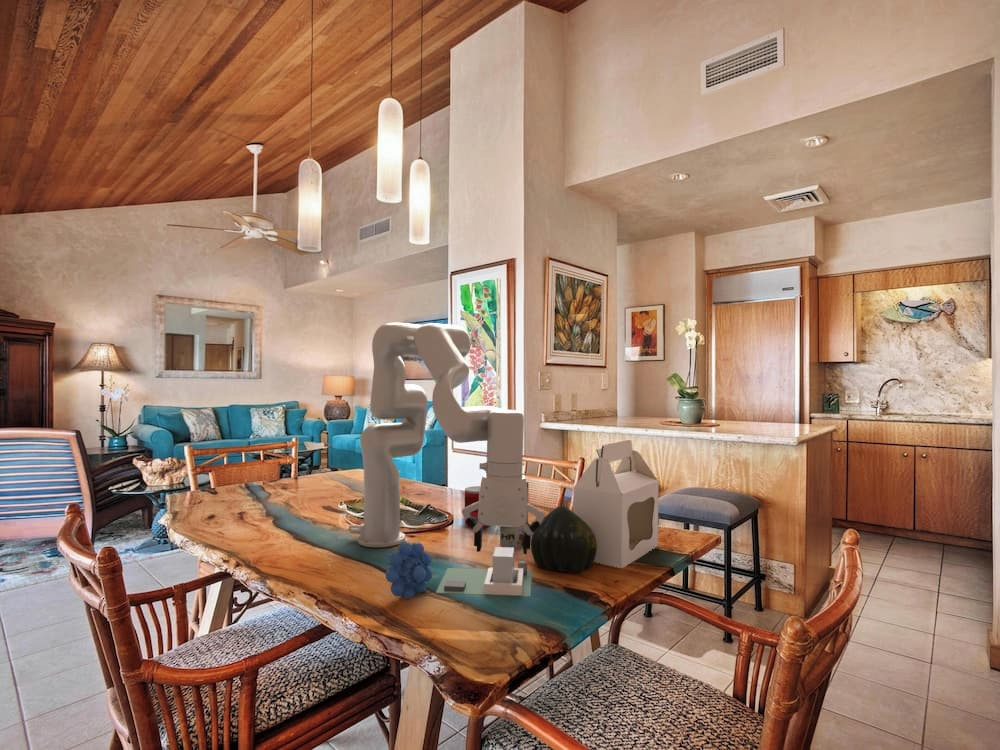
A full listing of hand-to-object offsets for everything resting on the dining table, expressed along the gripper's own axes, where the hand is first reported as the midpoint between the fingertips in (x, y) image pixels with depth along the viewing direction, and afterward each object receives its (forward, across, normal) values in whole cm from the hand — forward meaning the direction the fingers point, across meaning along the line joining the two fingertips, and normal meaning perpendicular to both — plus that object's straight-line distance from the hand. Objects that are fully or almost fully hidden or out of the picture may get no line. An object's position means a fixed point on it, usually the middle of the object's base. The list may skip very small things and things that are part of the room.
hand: (502, 550), depth 112 cm
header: (+7, +1, -1) cm, 7 cm away
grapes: (+9, -17, -8) cm, 20 cm away
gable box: (+8, +28, +28) cm, 40 cm away
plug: (+7, +1, -1) cm, 7 cm away
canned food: (+10, -11, +48) cm, 50 cm away
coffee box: (+9, +1, +30) cm, 32 cm away
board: (+8, -3, +1) cm, 9 cm away
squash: (+8, +13, +13) cm, 21 cm away
